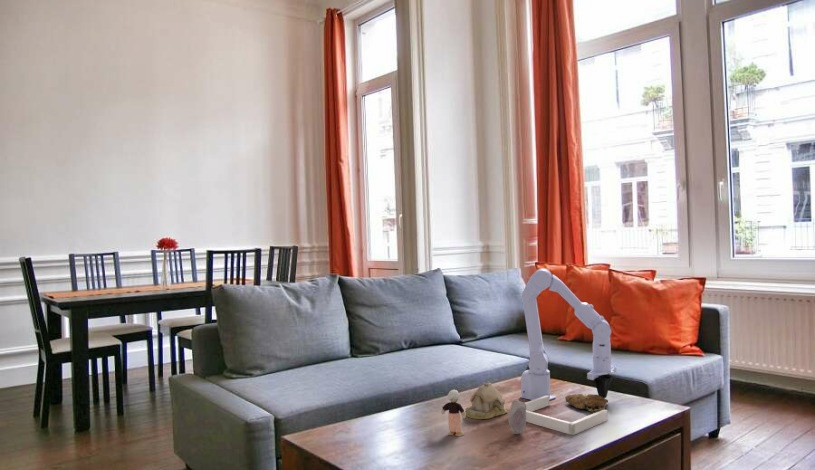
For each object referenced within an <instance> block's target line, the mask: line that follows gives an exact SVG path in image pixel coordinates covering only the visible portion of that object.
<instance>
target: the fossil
mask: <svg viewBox="0 0 815 470" xmlns="http://www.w3.org/2000/svg"><path fill="white" fill-rule="evenodd" d="M510 407H511V409H509V413H508V418H507V420H508V424H509V427H510V430H511V431H512V433H513V434H515V435H521V434H522V433H523V432H524V431H525V429H526V427H527V426H526V425H527V422H526V404H525V401H524V402H523V401H522V400H521V401H520V400H517V399H513V400H512V402H511V406H510Z"/></svg>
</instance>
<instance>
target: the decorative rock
mask: <svg viewBox="0 0 815 470" xmlns="http://www.w3.org/2000/svg"><path fill="white" fill-rule="evenodd" d="M564 400H565V401H566V403H567V404H569V405H570V406H573V407H575V409H580V410H582V409H583V410H584V409H585V410H586V411H588V412H590V413H592V414H594V413H596V412H599V411H601V410H604V409H605V410H606V405H607V403H609V400H608V399H607V398H603V397H601V396H599V395H598V394H591V393H577V394H568V395H567V396H565V398H564Z"/></svg>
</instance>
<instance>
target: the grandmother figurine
mask: <svg viewBox="0 0 815 470" xmlns="http://www.w3.org/2000/svg"><path fill="white" fill-rule="evenodd" d="M459 395H460V394H459V391H458V389H451V390H449V392H448V394H447V395H446V398H447V399H448V400H449V402H447V403H445V404H444V405H443V406H442V409H441V412H440V413H441V415H444V414H445V412H446V411H448V419H447V420H448V421H447V423H448V431H449V432H448V434H449V436H455V437H461V436H464V435H465V433H464V431H462V423H461V421H462V420H461V416H462V418H463V419H466V418H467V415H466V412H465V410H464V408H463V407H462V405H461V404H460V403H458V401H459ZM460 414H461V415H460ZM455 433H456V434H455Z"/></svg>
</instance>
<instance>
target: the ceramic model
mask: <svg viewBox="0 0 815 470" xmlns="http://www.w3.org/2000/svg"><path fill="white" fill-rule="evenodd" d="M469 401H470V402H471V405H470V406H468V407H466V408H465V410H464V412H465V415H466V418H470V419H475V420H486V419H487V420H488V419H491V418H494V417H498V416H501V415H504V414H506V413H508V410H507V409H506V408H505V400H504V399H503V396H502V394H501V392H500V391H499V389H498V388H496V387H495V386H494V385H493V384H492V383H491V382H489V381H483V384H482V385H480V386H479V387H478V388H477V390H476V391H474V393H473V394H472V395H471V397H470V400H469Z"/></svg>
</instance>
